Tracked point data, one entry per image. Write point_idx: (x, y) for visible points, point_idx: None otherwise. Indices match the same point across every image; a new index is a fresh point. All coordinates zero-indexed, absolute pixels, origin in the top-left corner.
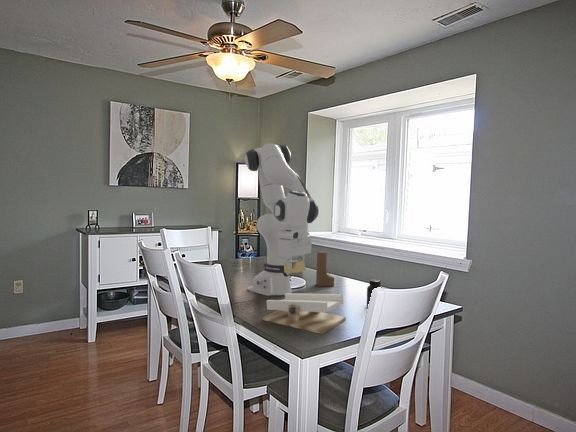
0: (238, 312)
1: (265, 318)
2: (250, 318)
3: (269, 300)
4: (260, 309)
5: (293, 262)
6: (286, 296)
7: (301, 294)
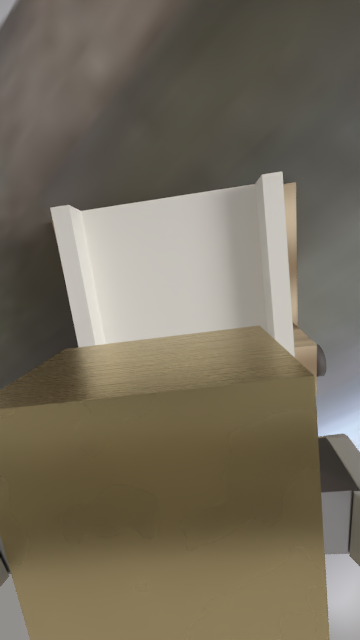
0: (29, 24)
1: (56, 238)
2: (24, 163)
3: (58, 227)
4: (159, 80)
5: (26, 615)
6: (259, 192)
7: (271, 309)
